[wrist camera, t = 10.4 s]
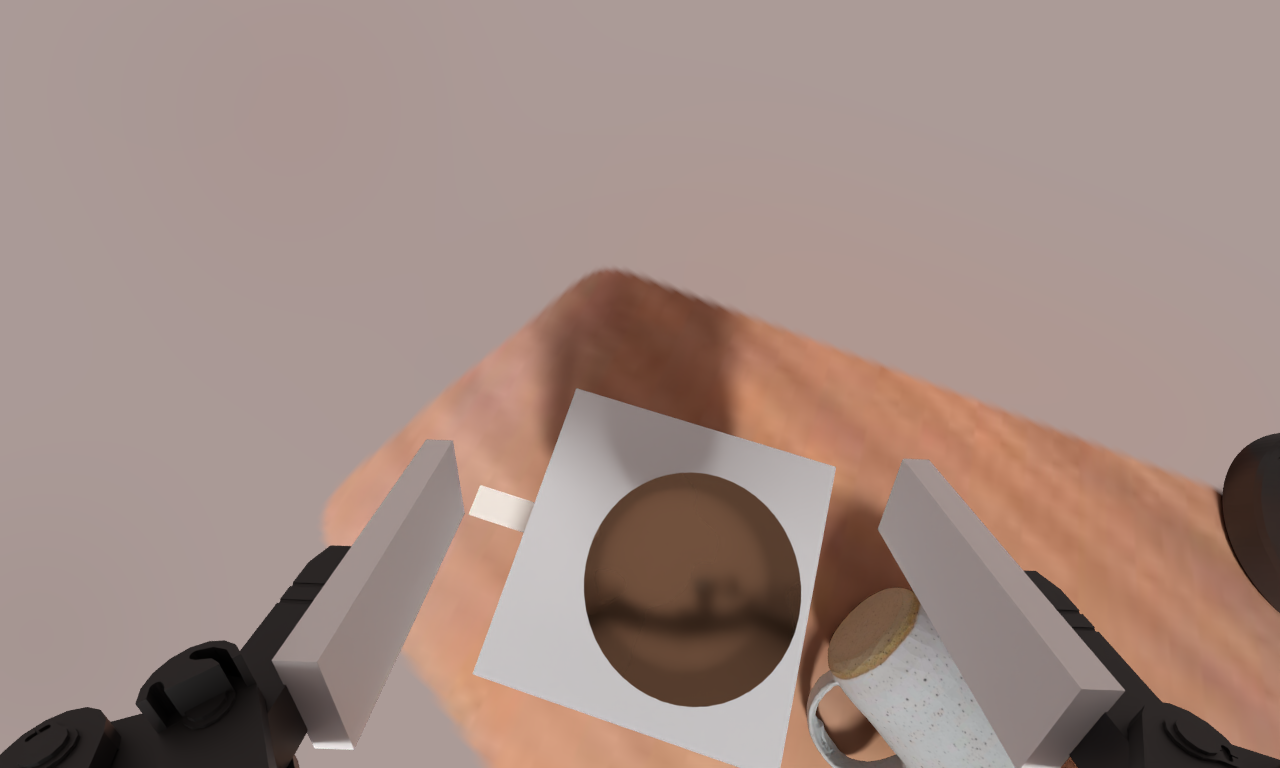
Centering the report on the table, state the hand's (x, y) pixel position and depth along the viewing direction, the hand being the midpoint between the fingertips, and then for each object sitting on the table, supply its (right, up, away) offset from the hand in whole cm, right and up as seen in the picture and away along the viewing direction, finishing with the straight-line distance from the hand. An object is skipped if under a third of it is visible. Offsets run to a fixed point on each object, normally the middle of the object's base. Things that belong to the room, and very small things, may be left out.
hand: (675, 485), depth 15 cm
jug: (-2, -8, +18) cm, 20 cm away
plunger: (-1, -8, +17) cm, 18 cm away
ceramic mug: (+14, -16, +17) cm, 27 cm away
